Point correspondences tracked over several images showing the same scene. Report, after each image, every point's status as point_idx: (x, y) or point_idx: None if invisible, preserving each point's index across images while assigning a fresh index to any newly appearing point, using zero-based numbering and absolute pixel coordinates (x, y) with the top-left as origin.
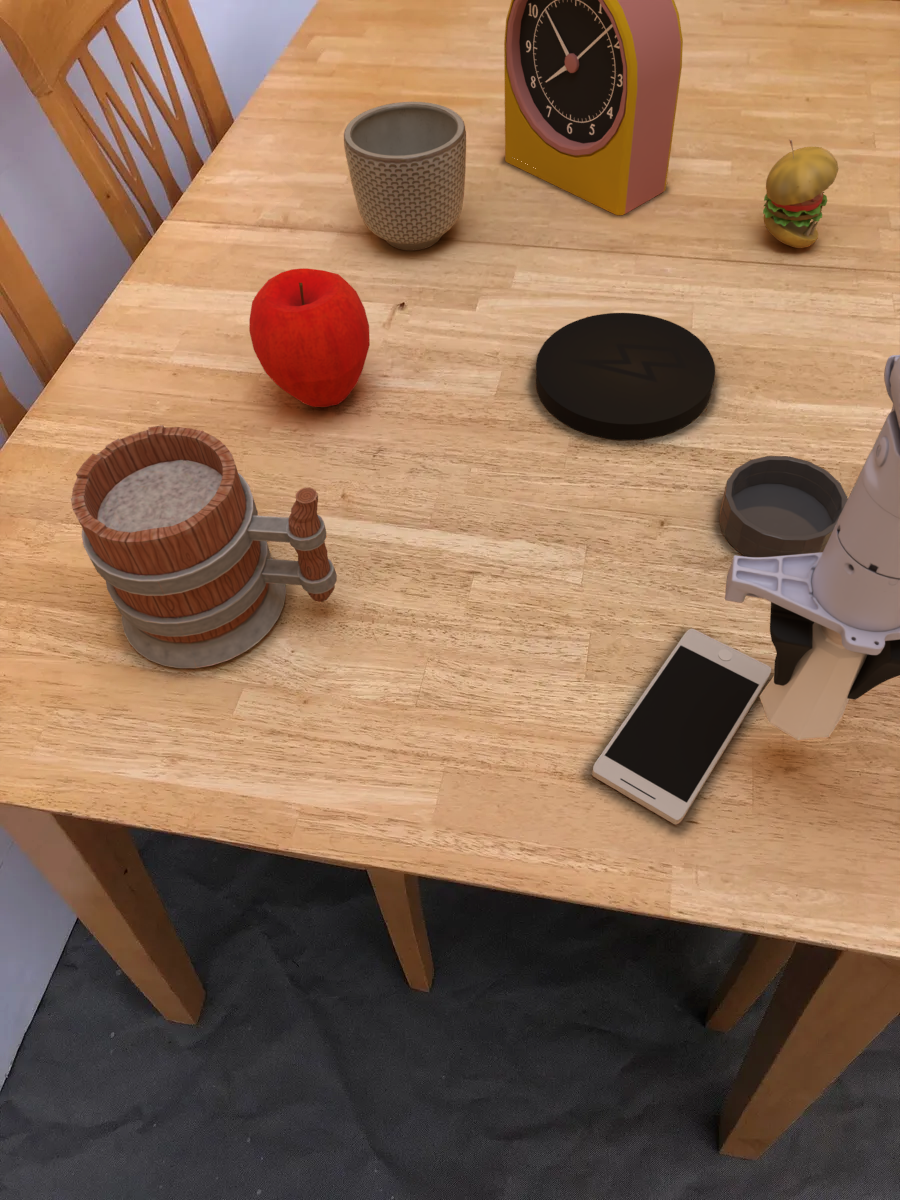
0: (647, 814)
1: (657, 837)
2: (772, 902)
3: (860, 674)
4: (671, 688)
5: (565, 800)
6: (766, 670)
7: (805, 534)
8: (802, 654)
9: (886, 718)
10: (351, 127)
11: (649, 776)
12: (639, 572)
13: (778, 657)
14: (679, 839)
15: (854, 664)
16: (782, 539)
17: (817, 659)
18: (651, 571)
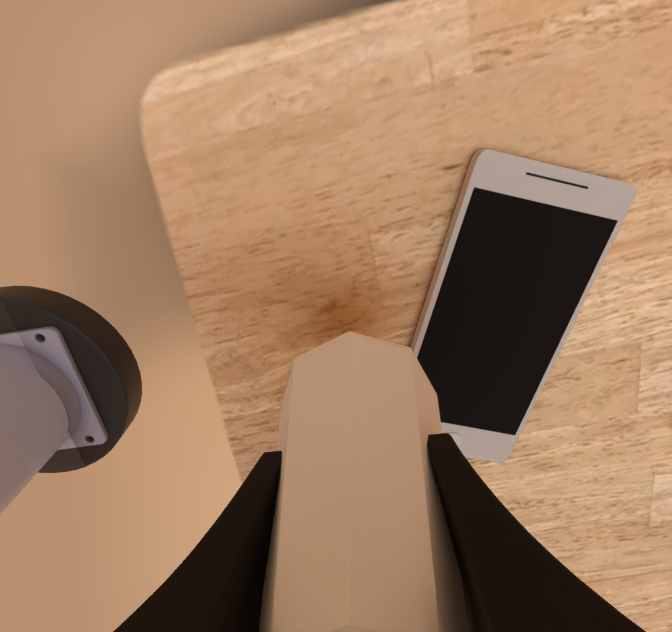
0: (523, 151)
1: (503, 115)
2: (306, 73)
3: (265, 534)
4: (520, 368)
5: (663, 121)
6: None
7: None
8: (491, 604)
9: (228, 421)
10: None
11: (540, 210)
12: (573, 512)
13: (536, 541)
14: (467, 127)
15: (289, 595)
16: None
17: (409, 575)
18: (557, 517)
